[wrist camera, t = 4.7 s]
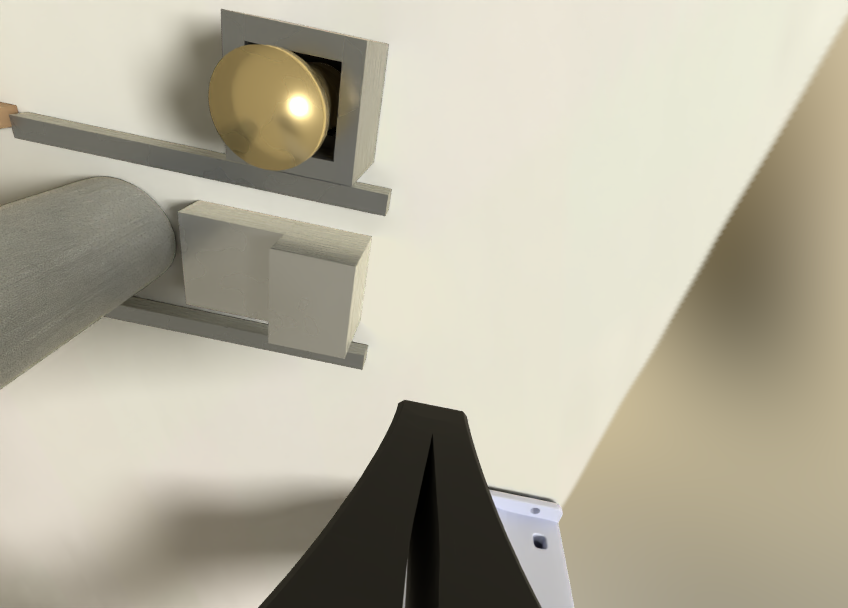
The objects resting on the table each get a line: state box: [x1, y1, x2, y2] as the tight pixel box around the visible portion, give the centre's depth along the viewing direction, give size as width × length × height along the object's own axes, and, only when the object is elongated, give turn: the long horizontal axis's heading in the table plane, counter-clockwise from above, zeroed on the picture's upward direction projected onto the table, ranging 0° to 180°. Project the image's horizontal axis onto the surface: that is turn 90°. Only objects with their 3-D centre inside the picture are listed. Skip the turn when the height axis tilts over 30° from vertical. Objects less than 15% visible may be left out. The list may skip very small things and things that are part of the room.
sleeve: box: [9, 112, 392, 370], centre depth 18 cm, size 14×8×1 cm, turn 80°
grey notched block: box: [178, 200, 372, 359], centre depth 17 cm, size 7×4×3 cm, turn 80°
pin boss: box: [221, 9, 389, 186], centre depth 14 cm, size 4×5×4 cm
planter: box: [0, 177, 176, 389], centre depth 14 cm, size 4×4×10 cm
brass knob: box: [208, 44, 341, 171], centre depth 13 cm, size 3×3×5 cm
